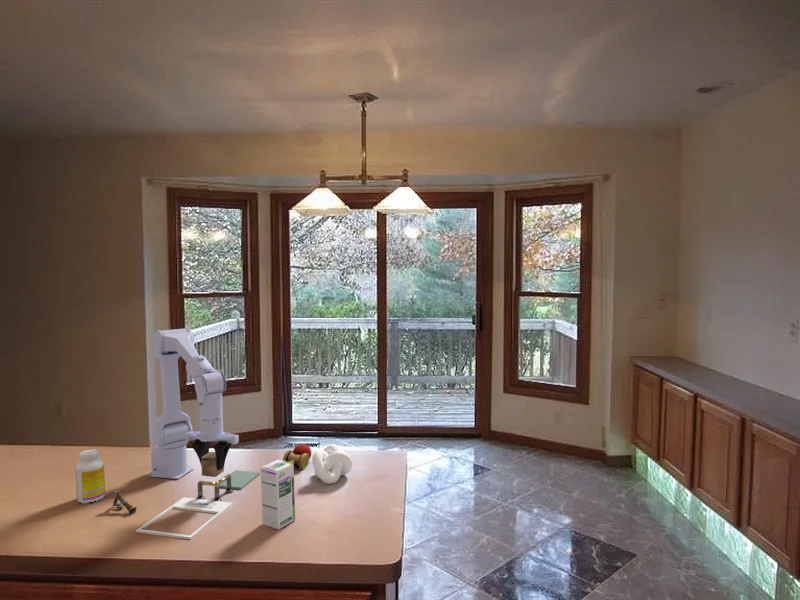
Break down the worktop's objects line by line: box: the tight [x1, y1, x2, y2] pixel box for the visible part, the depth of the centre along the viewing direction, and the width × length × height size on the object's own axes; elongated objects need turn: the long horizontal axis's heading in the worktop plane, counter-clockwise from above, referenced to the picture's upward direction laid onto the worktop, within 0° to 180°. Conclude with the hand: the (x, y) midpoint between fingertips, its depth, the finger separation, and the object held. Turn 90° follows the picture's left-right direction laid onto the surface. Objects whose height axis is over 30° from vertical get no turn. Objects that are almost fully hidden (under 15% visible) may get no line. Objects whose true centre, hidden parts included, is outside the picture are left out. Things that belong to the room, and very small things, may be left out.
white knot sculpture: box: [311, 443, 353, 485], centre depth 156 cm, size 11×12×9 cm
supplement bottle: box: [74, 449, 106, 504], centre depth 143 cm, size 7×7×13 cm
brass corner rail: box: [195, 473, 234, 501], centre depth 145 cm, size 7×8×5 cm
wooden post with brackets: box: [112, 490, 137, 515], centre depth 137 cm, size 2×8×4 cm, turn 61°
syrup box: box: [259, 459, 296, 530], centre depth 130 cm, size 6×6×14 cm
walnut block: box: [200, 451, 225, 478], centre depth 141 cm, size 4×4×5 cm
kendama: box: [282, 443, 312, 470], centre depth 163 cm, size 8×6×18 cm
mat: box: [219, 469, 261, 490], centre depth 155 cm, size 8×11×1 cm
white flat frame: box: [135, 496, 234, 540], centre depth 133 cm, size 15×1×18 cm
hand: (212, 468), depth 141 cm, fingers closed on walnut block, 4 cm apart
